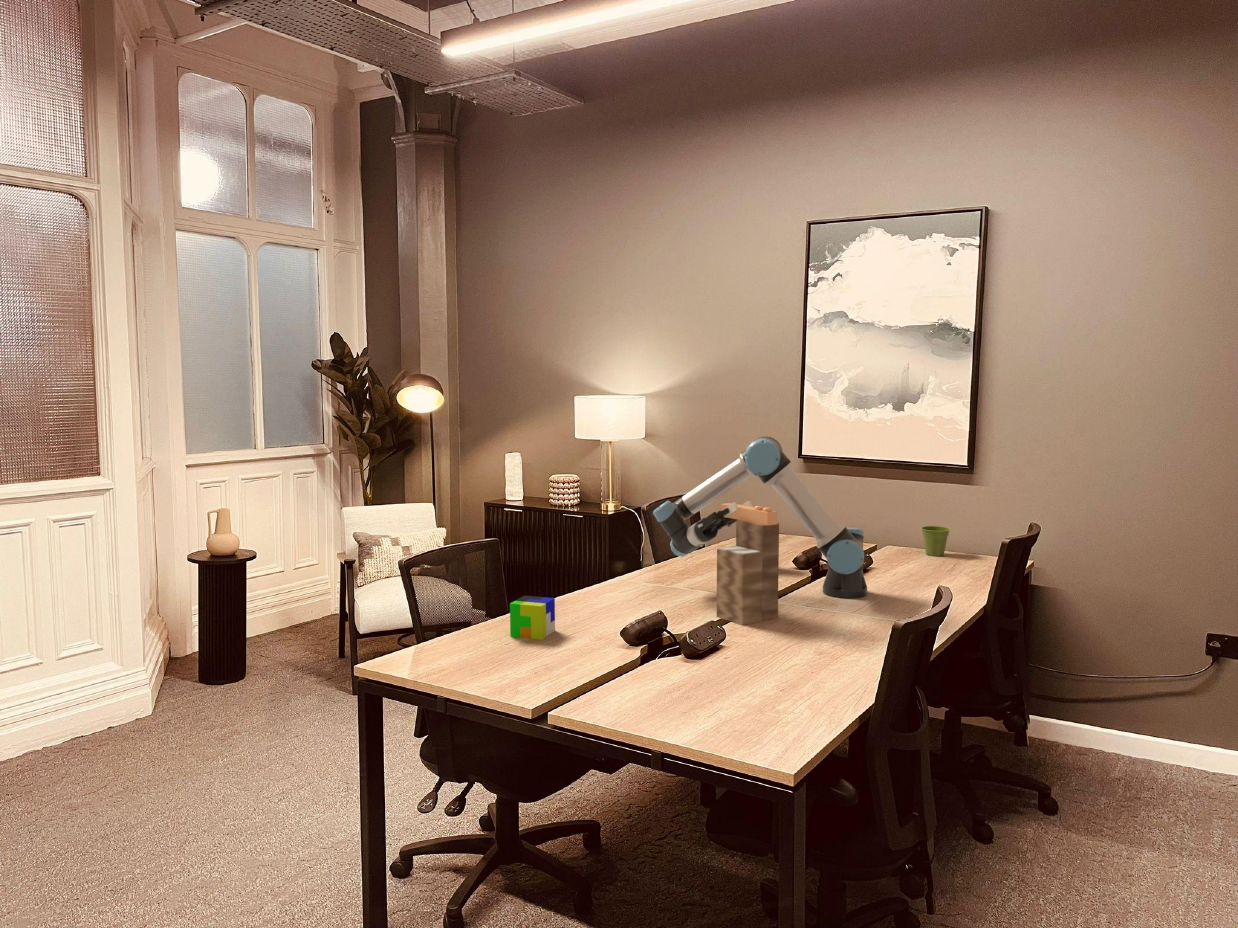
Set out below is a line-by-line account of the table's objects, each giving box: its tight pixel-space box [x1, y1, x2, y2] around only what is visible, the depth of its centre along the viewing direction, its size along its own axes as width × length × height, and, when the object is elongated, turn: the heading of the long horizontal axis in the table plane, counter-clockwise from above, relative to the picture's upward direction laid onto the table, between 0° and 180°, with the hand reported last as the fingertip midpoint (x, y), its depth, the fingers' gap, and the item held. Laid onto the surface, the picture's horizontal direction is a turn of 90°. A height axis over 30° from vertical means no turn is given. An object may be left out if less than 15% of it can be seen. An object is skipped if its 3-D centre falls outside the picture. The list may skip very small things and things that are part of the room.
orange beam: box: [720, 502, 778, 525], centre depth 295 cm, size 22×4×5 cm, turn 34°
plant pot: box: [920, 525, 951, 557], centre depth 387 cm, size 12×12×11 cm
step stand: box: [716, 520, 780, 626], centre depth 291 cm, size 12×15×30 cm
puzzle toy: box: [509, 595, 556, 641], centre depth 275 cm, size 10×10×10 cm
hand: (743, 505), depth 296 cm, fingers open, 6 cm apart
